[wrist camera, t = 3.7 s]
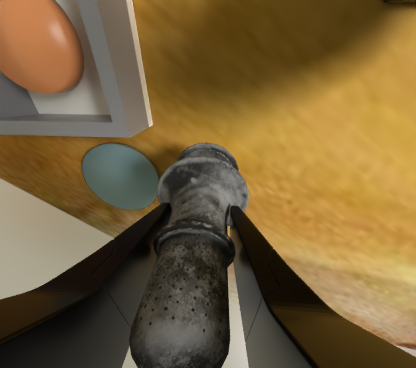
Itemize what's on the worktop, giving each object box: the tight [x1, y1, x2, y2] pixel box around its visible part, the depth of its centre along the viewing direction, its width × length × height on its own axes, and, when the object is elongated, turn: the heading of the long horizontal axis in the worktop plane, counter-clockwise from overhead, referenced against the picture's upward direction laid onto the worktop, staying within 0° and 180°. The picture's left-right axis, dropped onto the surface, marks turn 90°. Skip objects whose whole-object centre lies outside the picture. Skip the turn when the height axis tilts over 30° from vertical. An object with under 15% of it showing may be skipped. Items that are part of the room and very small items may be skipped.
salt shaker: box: [129, 143, 249, 368], centre depth 8 cm, size 6×6×12 cm
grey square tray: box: [0, 0, 153, 138], centre depth 11 cm, size 11×11×4 cm
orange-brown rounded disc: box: [0, 0, 84, 94], centre depth 10 cm, size 6×6×1 cm
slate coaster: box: [82, 142, 160, 210], centre depth 18 cm, size 8×8×1 cm
